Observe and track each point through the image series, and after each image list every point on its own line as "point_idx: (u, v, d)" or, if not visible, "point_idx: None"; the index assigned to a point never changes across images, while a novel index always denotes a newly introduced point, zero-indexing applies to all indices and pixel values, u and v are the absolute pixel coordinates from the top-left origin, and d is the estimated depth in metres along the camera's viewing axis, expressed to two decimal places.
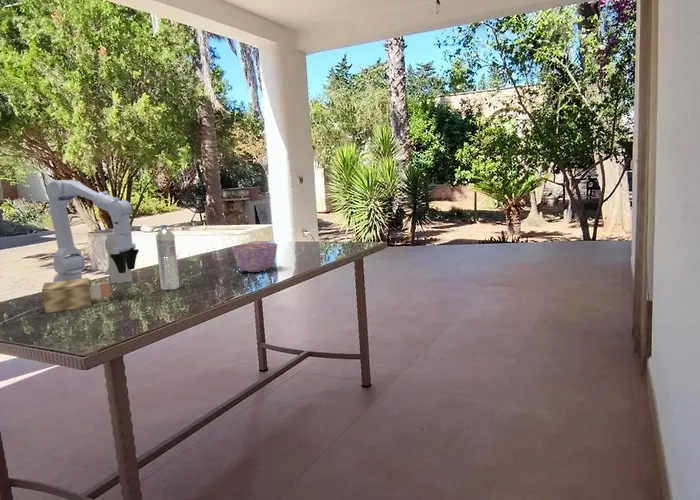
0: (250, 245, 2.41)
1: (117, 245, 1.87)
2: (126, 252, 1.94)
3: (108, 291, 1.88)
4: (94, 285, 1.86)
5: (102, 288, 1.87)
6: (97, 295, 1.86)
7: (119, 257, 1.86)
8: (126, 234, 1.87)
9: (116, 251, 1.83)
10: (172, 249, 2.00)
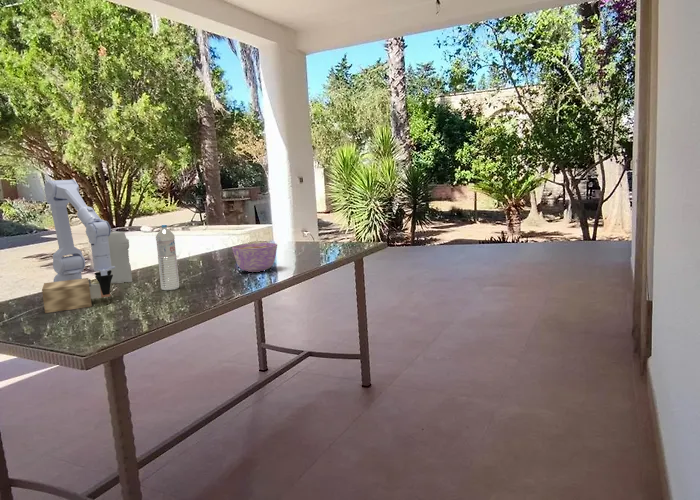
0: (250, 245, 2.41)
1: (99, 267, 1.84)
2: (100, 274, 1.90)
3: None
4: (94, 285, 1.86)
5: None
6: (97, 295, 1.86)
7: (104, 279, 1.83)
8: (108, 255, 1.86)
9: (105, 272, 1.81)
10: (172, 249, 2.00)
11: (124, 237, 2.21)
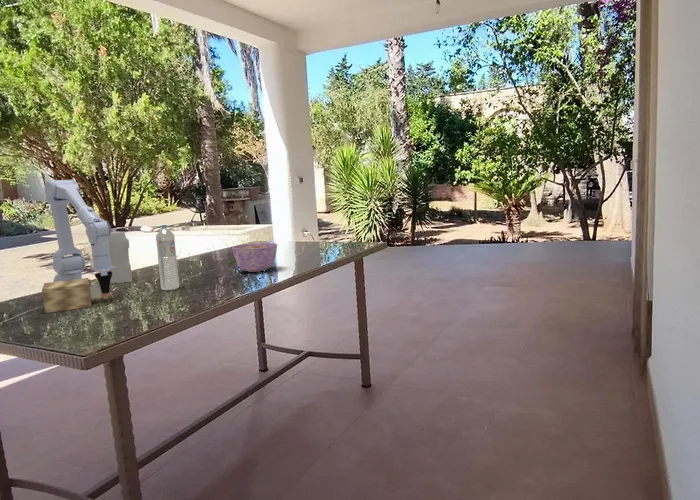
0: (250, 245, 2.41)
1: (99, 267, 1.84)
2: None
3: None
4: (94, 285, 1.86)
5: None
6: (97, 295, 1.86)
7: (103, 277, 1.86)
8: (108, 255, 1.86)
9: (105, 272, 1.81)
10: (172, 249, 2.00)
11: (124, 237, 2.21)
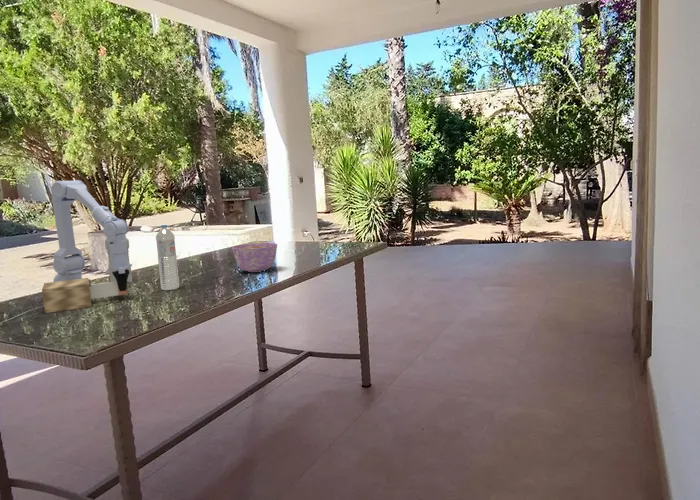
0: (250, 245, 2.41)
1: (116, 265, 1.87)
2: None
3: None
4: (111, 283, 1.88)
5: None
6: (114, 293, 1.89)
7: (120, 275, 1.89)
8: (125, 253, 1.88)
9: (123, 270, 1.83)
10: (172, 249, 2.00)
11: None
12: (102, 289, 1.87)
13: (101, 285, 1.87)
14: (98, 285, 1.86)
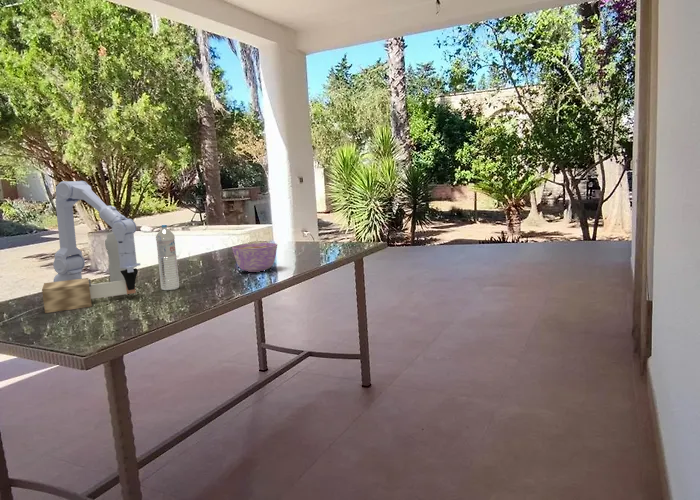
0: (250, 245, 2.41)
1: (125, 264, 1.88)
2: None
3: None
4: (120, 282, 1.89)
5: None
6: (123, 292, 1.90)
7: (129, 274, 1.90)
8: (133, 252, 1.89)
9: (131, 269, 1.85)
10: (172, 249, 2.00)
11: None
12: (111, 288, 1.88)
13: (109, 284, 1.88)
14: (107, 284, 1.88)
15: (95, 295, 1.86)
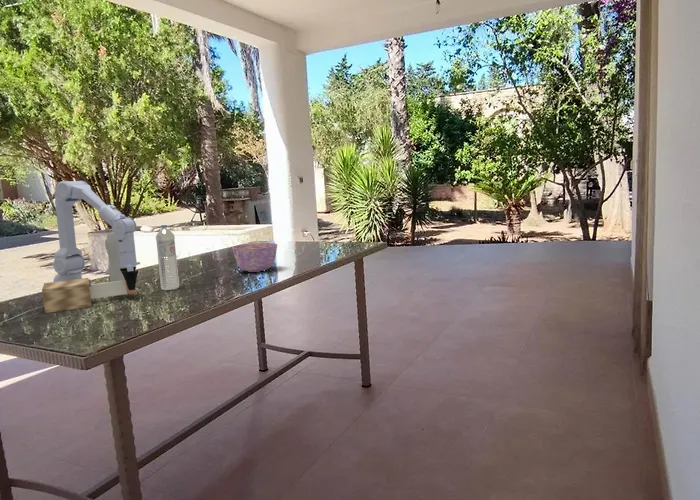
0: (250, 245, 2.41)
1: (125, 263, 1.88)
2: (125, 270, 1.94)
3: None
4: (120, 282, 1.89)
5: None
6: (123, 292, 1.90)
7: (129, 274, 1.87)
8: (133, 251, 1.89)
9: (131, 268, 1.85)
10: (172, 249, 2.00)
11: None
12: (111, 288, 1.88)
13: (109, 284, 1.88)
14: (107, 284, 1.88)
15: (95, 295, 1.86)
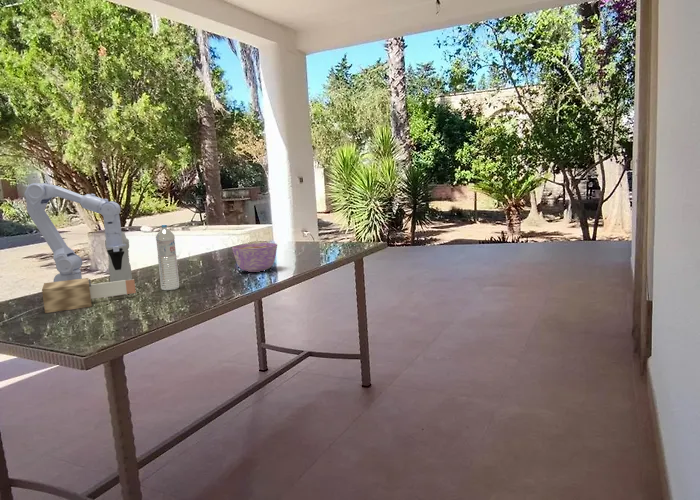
0: (250, 245, 2.41)
1: (111, 244, 1.97)
2: (111, 251, 2.03)
3: (133, 288, 1.92)
4: (120, 282, 1.89)
5: (128, 285, 1.91)
6: (123, 292, 1.90)
7: (116, 255, 1.96)
8: (119, 233, 1.98)
9: (117, 249, 1.94)
10: (172, 249, 2.00)
11: (124, 237, 2.21)
12: (111, 288, 1.88)
13: (109, 284, 1.88)
14: (107, 284, 1.88)
15: (95, 295, 1.86)
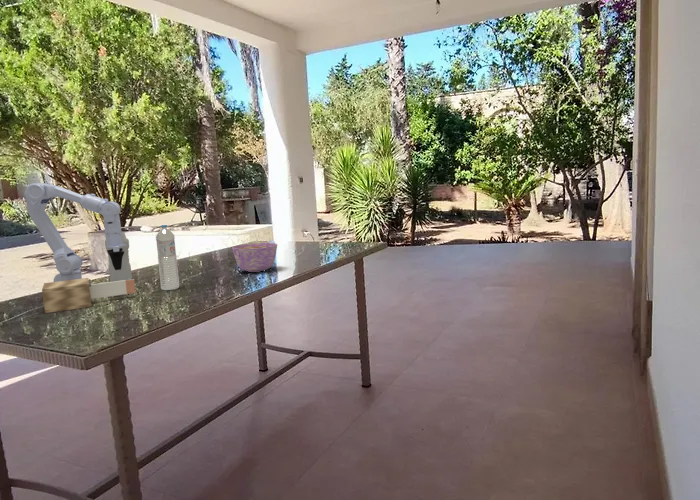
0: (250, 245, 2.41)
1: (111, 244, 1.97)
2: (111, 251, 2.03)
3: (133, 288, 1.92)
4: (120, 282, 1.89)
5: (128, 285, 1.91)
6: (123, 292, 1.90)
7: (116, 255, 1.96)
8: (119, 233, 1.98)
9: (117, 249, 1.94)
10: (172, 249, 2.00)
11: (124, 237, 2.21)
12: (111, 288, 1.88)
13: (109, 284, 1.88)
14: (107, 284, 1.88)
15: (95, 295, 1.86)
